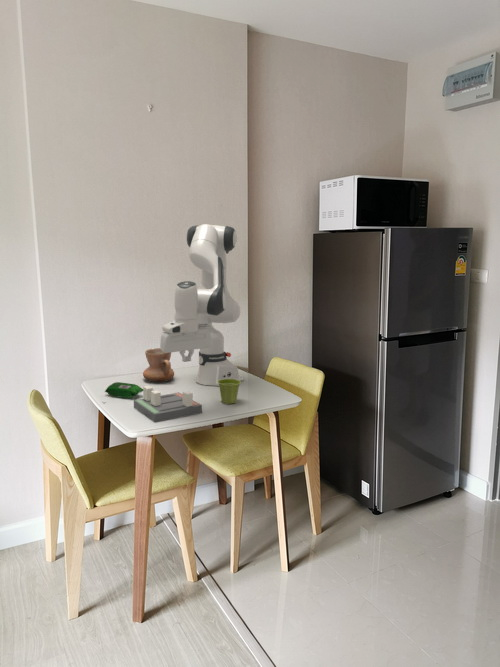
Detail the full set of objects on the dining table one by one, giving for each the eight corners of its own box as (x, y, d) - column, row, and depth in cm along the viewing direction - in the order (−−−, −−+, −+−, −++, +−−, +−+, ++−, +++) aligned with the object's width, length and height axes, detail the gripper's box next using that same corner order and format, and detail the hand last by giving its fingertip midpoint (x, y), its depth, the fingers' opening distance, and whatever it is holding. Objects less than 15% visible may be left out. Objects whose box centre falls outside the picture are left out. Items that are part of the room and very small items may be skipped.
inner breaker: (149, 397, 212) (149, 385, 211) (152, 400, 209) (152, 387, 208) (143, 398, 210) (143, 386, 209) (147, 401, 208) (146, 388, 207)
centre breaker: (156, 402, 206) (156, 390, 205) (160, 405, 203) (160, 392, 202) (150, 403, 205) (150, 391, 204) (154, 406, 202) (154, 393, 201)
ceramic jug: (136, 378, 250) (135, 348, 247) (163, 373, 259) (163, 345, 256) (154, 387, 236) (153, 356, 233) (182, 382, 245) (182, 352, 242)
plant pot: (220, 397, 224) (220, 377, 223) (242, 399, 223) (242, 379, 221) (215, 404, 215) (215, 384, 214) (238, 406, 214) (238, 385, 212)
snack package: (136, 401, 218) (135, 389, 217) (103, 396, 223) (103, 384, 222) (145, 396, 224) (145, 384, 223) (113, 391, 229) (113, 380, 228)
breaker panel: (179, 399, 221) (179, 392, 220) (201, 412, 206) (201, 404, 205) (133, 407, 210) (133, 400, 209) (154, 422, 194) (154, 414, 194)
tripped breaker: (188, 403, 206) (188, 390, 205) (192, 405, 204) (192, 393, 203) (182, 404, 205) (182, 391, 204) (186, 406, 202) (186, 394, 201)
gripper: (206, 321, 206) (206, 356, 209) (158, 326, 195) (158, 362, 198) (214, 324, 201) (214, 359, 204) (165, 329, 190) (166, 366, 193)
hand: (186, 361), depth 201 cm, fingers closed
